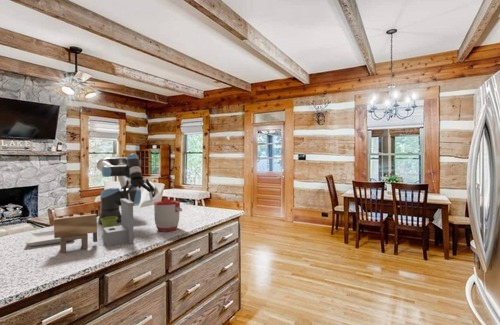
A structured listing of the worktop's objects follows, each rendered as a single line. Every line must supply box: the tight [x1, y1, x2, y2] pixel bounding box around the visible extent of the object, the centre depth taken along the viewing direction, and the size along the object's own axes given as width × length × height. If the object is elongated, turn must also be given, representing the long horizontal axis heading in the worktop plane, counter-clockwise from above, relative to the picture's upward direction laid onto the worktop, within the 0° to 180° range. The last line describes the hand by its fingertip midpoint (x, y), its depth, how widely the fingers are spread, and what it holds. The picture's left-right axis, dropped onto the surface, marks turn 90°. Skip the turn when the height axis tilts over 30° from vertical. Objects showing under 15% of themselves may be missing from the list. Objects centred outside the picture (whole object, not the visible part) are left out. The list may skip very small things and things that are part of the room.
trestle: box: [60, 233, 89, 254], centre depth 140 cm, size 8×11×7 cm
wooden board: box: [53, 213, 98, 243], centre depth 140 cm, size 3×18×14 cm, turn 127°
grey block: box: [102, 198, 135, 247], centre depth 152 cm, size 19×12×22 cm, turn 37°
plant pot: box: [101, 217, 118, 229], centre depth 169 cm, size 9×9×9 cm
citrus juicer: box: [153, 197, 183, 232], centre depth 176 cm, size 16×17×20 cm
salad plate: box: [25, 229, 60, 247], centre depth 155 cm, size 21×21×3 cm
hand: (141, 202), depth 181 cm, fingers open, 13 cm apart
